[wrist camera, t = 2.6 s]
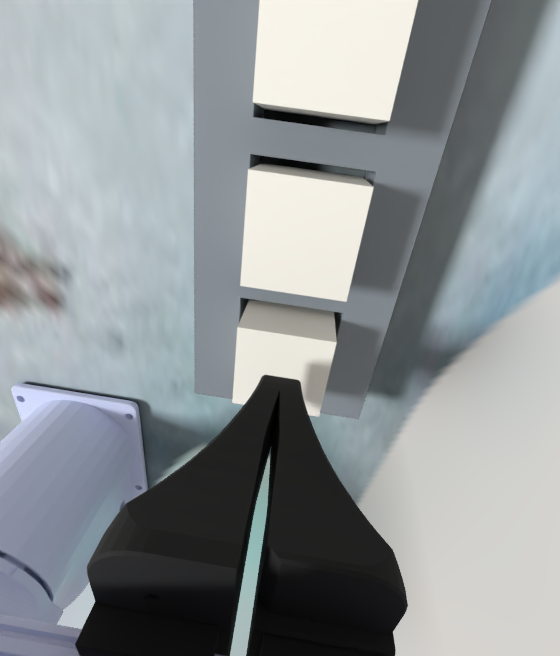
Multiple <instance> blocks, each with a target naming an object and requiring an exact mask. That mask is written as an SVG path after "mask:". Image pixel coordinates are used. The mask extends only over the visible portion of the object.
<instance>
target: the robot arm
mask: <svg viewBox="0 0 560 656" xmlns="http://www.w3.org/2000/svg"><path fill="white" fill-rule="evenodd" d="M11 390H12V394H13V397H14V400H15V403H16V406H17V409H18V412H19V414H20V417H21V420H22V422H21V423H20V424H19V425H18V426H17V427H16V428H15V429H14V430H12V431H11V432H10V433H9V434H8V435H7V436H6V437H5V438H4V439H3V440H2V441H1V442H0V656H230V651H231V645H232V639H233V632H234V627H235V621H236V615H237V609H238V603H239V597H240V591H241V585H242V579H243V573H244V567H245V561H246V556H247V549H248V544H249V538H250V532H251V526H252V520H253V515H254V510H255V505H256V500H257V497H258V493H259V489H260V485H261V481H262V478H263V474H264V470H265V466H266V463H267V459H268V455H269V451H270V447H271V457H270V475H269V492H268V507H267V517H266V524H265V531H264V538H263V545H262V552H261V559H260V565H259V573H258V580H257V586H256V593H255V600H254V607H253V614H252V620H251V628H250V635H249V641H248V648H247V654H246V656H395V644H394V637H393V630H394V629H395V628H396V626H397V625H398V623H399V622H400V620H401V619H402V617H403V616H404V614H405V612H406V609H407V606H408V604H407V599H406V591H405V587H404V583H403V579H402V576H401V573H400V569H399V566H398V564H397V561H396V558H395V555H394V552H393V550H392V549H391V547H390V546H389V545H388V544H387V543H386V542H385V540H384V539H383V538H382V537H381V536H380V535H379V534H378V532H377V531H376V530H375V529H374V528H373V526H372V525H371V524H370V523H369V521H368V520H367V519H366V517H365V516H364V515H363V513H362V512H361V511H360V509H359V508H358V507H357V505H356V504H355V502H354V501H353V499H352V498H351V496H350V495H349V493H348V492H347V490H346V489H345V488H344V486H343V485H342V483H341V482H340V480H339V478H338V477H337V475H336V473H335V471H334V470H333V468H332V466H331V464H330V463H329V461H328V459H327V457H326V455H325V453H324V451H323V449H322V447H321V445H320V443H319V440H318V438H317V436H316V434H315V431H314V429H313V426H312V423H311V421H310V418H309V415H308V412H307V409H306V406H305V402H304V399H303V394H302V389H301V383H300V381H299V380H296V379H290V378H284V377H277V376H271V375H264V376H262V377H261V380H260V382H259V383H258V385H257V387H256V389H255V390H254V392H253V393H252V395H251V396H250V398H249V399H248V400H247V402H246V403H245V404H244V406H243V407H242V408H241V410H240V411H239V412H238V413H237V415H236V416H235V417H234V418H233V419H232V420H231V422H230V423H229V424H228V425H227V426H226V427H225V428H224V429H223V430H222V431H221V433H220V434H219V435H218V436H217V437H216V438H215V439H213V440H212V441H211V442H210V443H209V444H208V445H207V446H206V447H205V448H204V449H203V450H201V451H200V452H199V453H198V454H197V455H196V456H195V457H193V458H192V459H191V460H190V461H188V462H187V463H186V464H185V465H183V466H182V467H181V468H179V469H178V470H176V471H175V472H174V473H172V474H171V475H170V476H168V477H167V478H165V479H164V480H163V481H161V482H160V483H158V484H157V485H155V486H154V487H152V488H150V489H149V490H148V487H147V478H146V469H145V460H144V450H143V441H142V432H141V423H140V414H139V407H138V405H137V404H136V403H135V402H133V401H128V400H122V399H116V398H110V397H103V396H97V395H91V394H85V393H79V392H72V391H66V390H60V389H54V388H48V387H41V386H35V385H29V384H23V383H18V384H16V385H14V386H13V387H12V389H11ZM130 414H131V415H130ZM89 582H90V585H91V588H92V591H93V595H94V598H95V604H94V606H93V608H92V610H91V612H90V614H89V616H88V618H87V620H86V622H85V624H84V626H83V629H78V628H72V627H66V626H61V625H57V623H58V621H59V619H60V617H61V615H62V613H63V609H65V608H66V607H67V606H68V605H70V604H71V603H72V602H73V601H74V600H75V599H76V598H77V597H78V596H79V594H81V593H82V591H83V590H84V589H85V587H86V586H87V585H88V583H89Z"/></svg>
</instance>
